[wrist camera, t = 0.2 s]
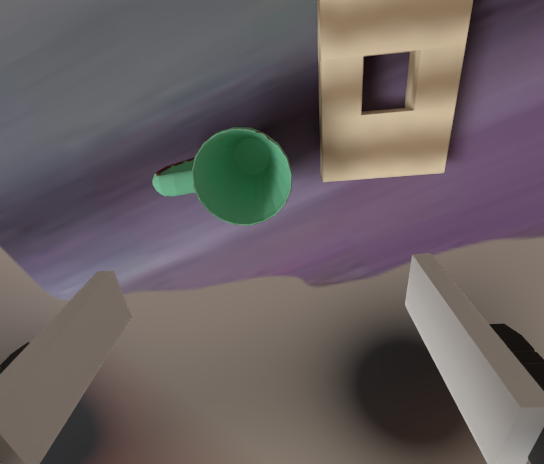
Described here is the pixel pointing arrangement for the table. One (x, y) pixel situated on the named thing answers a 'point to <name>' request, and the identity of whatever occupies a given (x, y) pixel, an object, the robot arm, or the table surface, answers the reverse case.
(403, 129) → the board
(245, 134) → the mug
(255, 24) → the table surface
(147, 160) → the table surface
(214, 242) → the table surface
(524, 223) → the table surface
